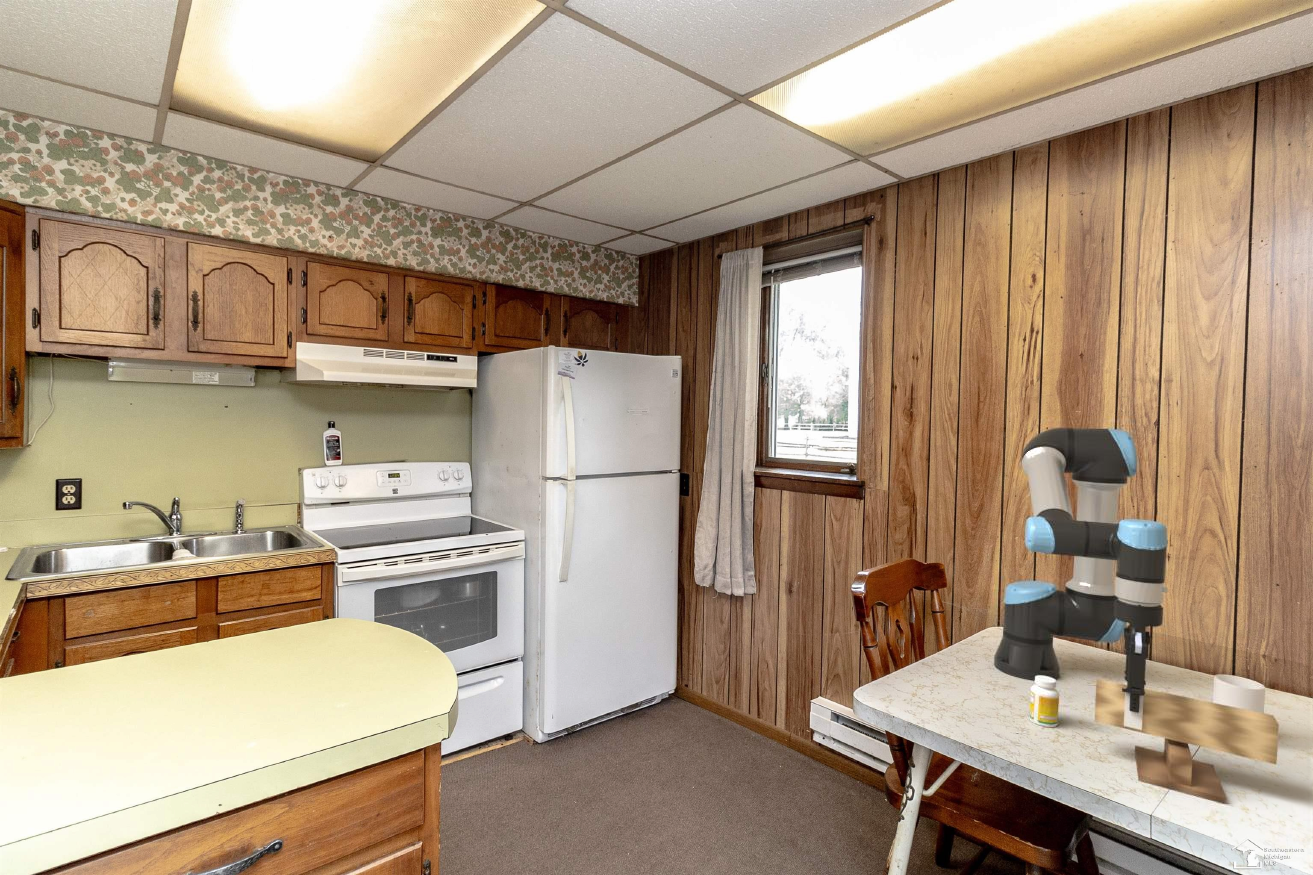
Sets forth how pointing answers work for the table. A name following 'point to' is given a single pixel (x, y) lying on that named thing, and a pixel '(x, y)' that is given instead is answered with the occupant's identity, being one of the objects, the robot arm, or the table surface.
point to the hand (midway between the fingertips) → (1132, 722)
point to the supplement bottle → (1044, 702)
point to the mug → (1239, 693)
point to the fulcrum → (1178, 771)
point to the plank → (1193, 722)
